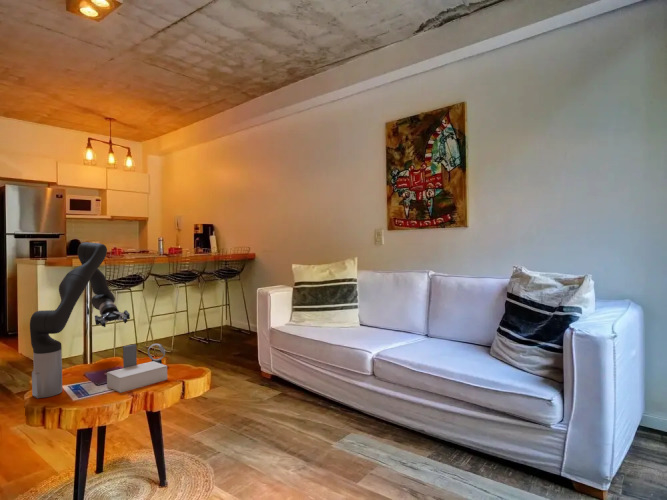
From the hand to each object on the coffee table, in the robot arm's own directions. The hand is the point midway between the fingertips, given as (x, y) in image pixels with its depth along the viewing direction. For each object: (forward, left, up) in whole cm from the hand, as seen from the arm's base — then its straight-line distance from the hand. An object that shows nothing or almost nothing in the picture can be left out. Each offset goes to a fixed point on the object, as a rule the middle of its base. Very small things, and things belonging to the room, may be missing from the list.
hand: (115, 323), depth 187 cm
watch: (+17, -5, -23) cm, 29 cm away
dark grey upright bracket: (0, -20, -22) cm, 30 cm away
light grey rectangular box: (0, -21, -23) cm, 31 cm away
